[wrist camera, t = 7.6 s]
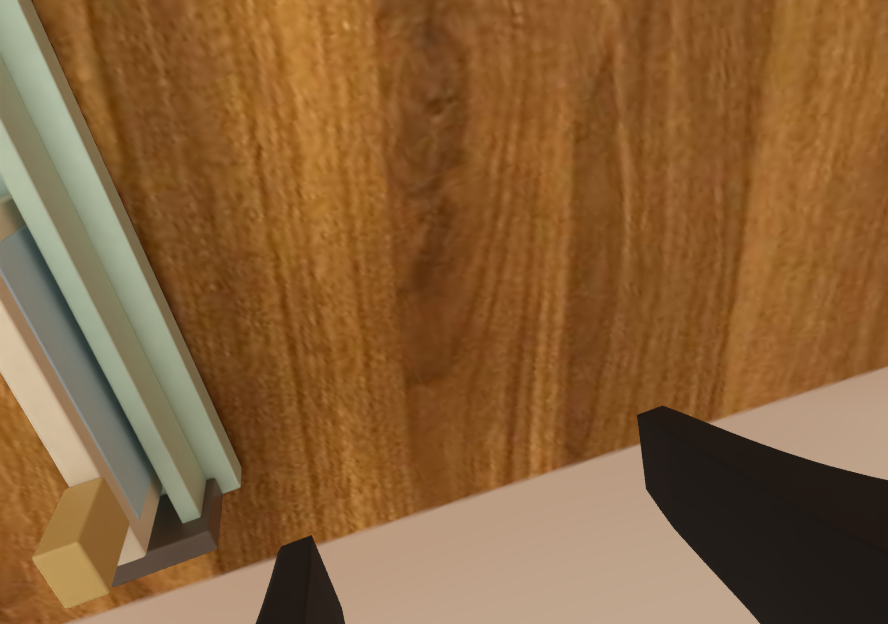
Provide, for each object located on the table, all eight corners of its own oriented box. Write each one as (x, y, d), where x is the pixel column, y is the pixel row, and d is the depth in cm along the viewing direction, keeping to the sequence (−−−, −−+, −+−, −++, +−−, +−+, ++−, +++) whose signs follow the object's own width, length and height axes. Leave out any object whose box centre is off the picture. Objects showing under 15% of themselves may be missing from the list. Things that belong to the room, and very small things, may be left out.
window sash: (170, 470, 21) (133, 631, 15) (139, 481, 20) (88, 647, 15) (26, 189, 17) (-102, 254, 11) (-13, 199, 17) (-165, 271, 11)
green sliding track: (242, 468, 23) (238, 543, 19) (118, 511, 22) (90, 597, 19) (-85, -258, 14) (-203, -368, 11) (-301, -223, 14) (-503, -327, 10)
